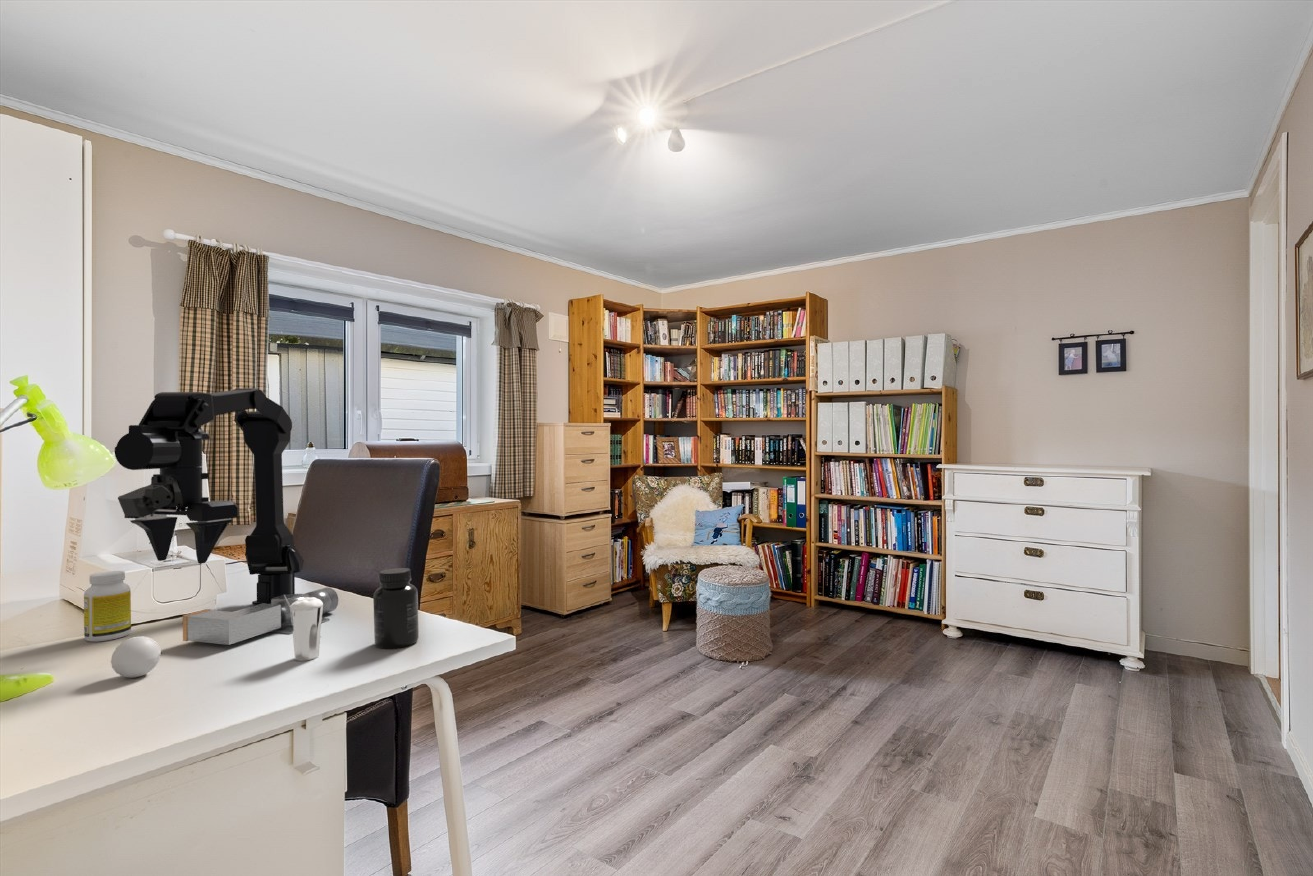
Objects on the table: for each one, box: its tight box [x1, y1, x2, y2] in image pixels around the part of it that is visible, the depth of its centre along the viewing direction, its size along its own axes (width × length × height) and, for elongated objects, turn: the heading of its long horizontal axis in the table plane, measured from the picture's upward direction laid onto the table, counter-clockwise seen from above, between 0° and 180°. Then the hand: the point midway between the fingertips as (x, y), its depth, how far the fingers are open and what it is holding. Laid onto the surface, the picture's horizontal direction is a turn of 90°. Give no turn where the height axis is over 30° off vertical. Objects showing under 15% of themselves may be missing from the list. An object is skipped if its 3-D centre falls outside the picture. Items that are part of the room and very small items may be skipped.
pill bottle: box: [83, 570, 132, 643], centre depth 112 cm, size 6×6×11 cm
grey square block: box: [182, 603, 281, 646], centre depth 111 cm, size 10×10×4 cm
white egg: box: [110, 635, 163, 679], centre depth 94 cm, size 8×6×6 cm
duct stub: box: [268, 586, 339, 635], centre depth 121 cm, size 14×9×5 cm, turn 164°
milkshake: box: [284, 595, 323, 662], centre depth 100 cm, size 4×5×10 cm
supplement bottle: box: [372, 567, 420, 650], centre depth 107 cm, size 7×7×12 cm
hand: (181, 561), depth 108 cm, fingers open, 9 cm apart
